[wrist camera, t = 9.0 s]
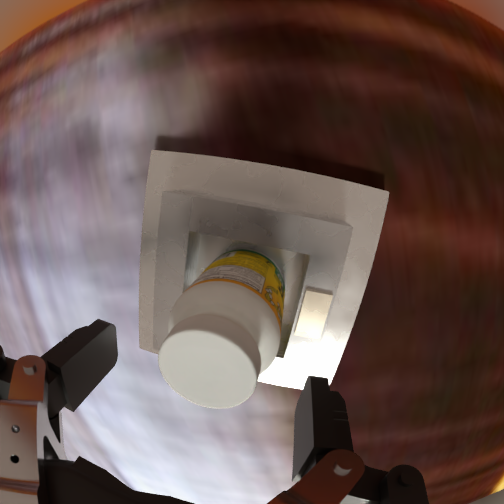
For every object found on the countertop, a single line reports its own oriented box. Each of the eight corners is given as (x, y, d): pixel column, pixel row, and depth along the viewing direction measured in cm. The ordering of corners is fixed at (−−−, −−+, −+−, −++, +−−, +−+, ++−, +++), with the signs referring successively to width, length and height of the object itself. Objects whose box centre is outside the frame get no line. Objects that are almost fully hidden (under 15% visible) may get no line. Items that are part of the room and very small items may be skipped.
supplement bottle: (216, 236, 19) (146, 289, 9) (296, 259, 18) (296, 336, 9) (201, 308, 20) (140, 393, 11) (273, 329, 20) (255, 432, 10)
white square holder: (144, 342, 23) (124, 364, 19) (158, 151, 19) (131, 146, 15) (325, 385, 21) (328, 415, 18) (384, 191, 17) (404, 194, 14)
